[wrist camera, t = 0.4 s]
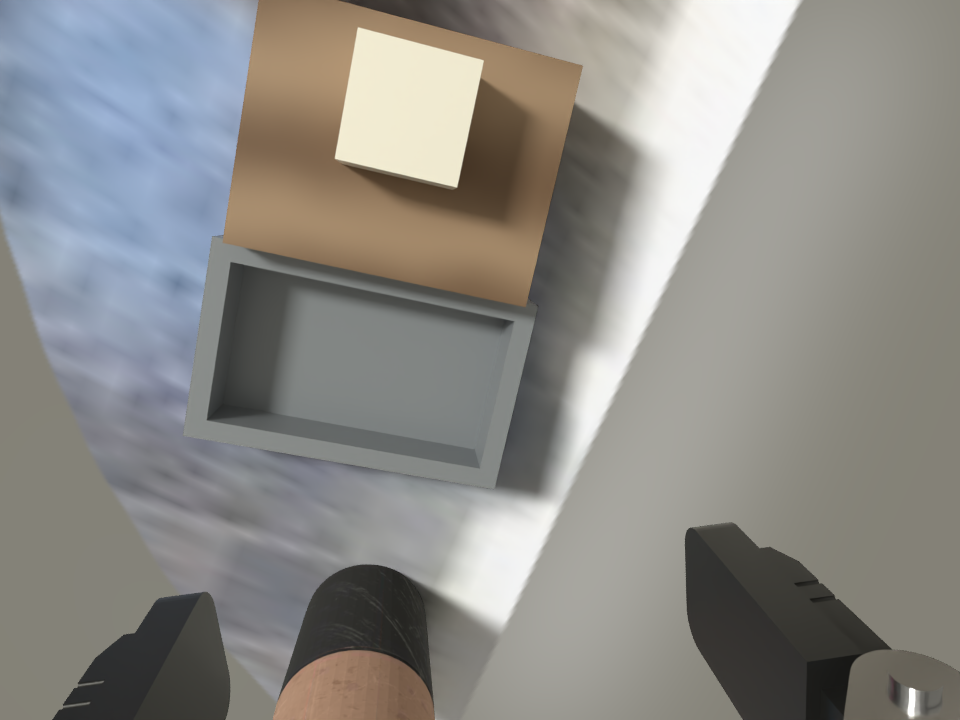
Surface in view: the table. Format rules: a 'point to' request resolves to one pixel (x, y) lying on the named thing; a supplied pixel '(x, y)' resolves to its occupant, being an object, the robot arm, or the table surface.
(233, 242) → the ledge
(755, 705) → the robot arm
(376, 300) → the box
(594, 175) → the table surface
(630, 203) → the table surface
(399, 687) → the travel mug
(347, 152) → the cream square block
